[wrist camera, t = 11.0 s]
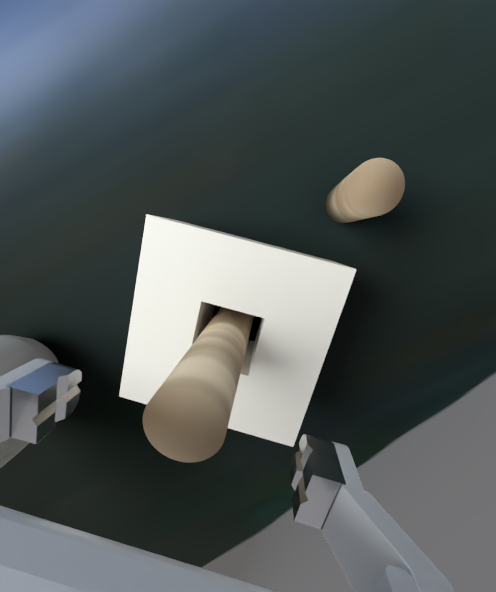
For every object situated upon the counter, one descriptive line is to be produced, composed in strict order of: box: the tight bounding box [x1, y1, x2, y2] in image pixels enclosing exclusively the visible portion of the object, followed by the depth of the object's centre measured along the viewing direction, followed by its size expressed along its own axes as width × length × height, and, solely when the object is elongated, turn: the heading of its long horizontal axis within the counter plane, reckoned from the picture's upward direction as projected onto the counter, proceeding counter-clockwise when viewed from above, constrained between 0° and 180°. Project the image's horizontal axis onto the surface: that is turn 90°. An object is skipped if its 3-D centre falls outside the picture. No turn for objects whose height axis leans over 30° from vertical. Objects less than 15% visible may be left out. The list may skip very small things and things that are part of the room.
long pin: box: [143, 307, 254, 462], centre depth 16 cm, size 3×3×14 cm
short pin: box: [326, 158, 405, 223], centre depth 17 cm, size 3×3×6 cm
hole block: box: [119, 214, 357, 447], centre depth 20 cm, size 13×13×6 cm
